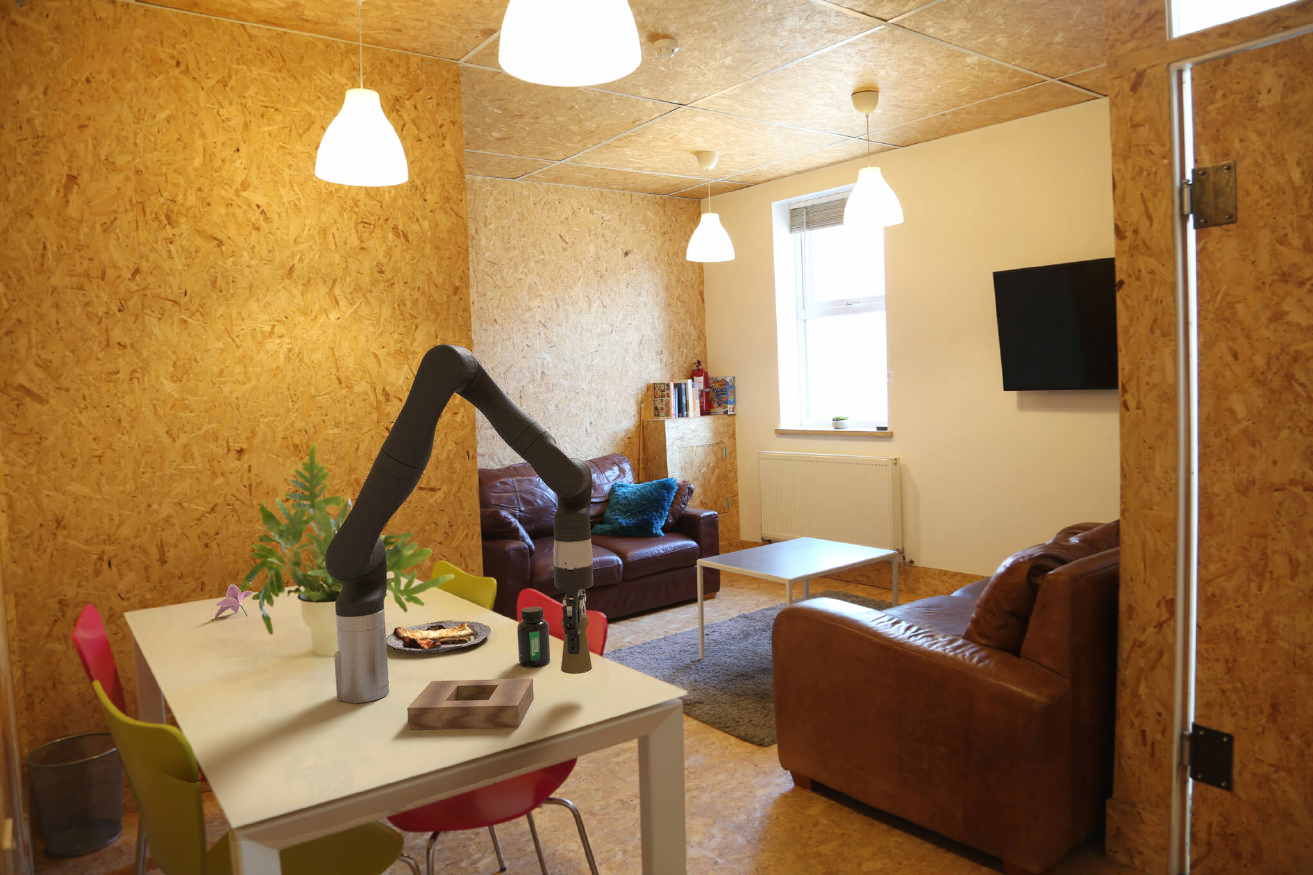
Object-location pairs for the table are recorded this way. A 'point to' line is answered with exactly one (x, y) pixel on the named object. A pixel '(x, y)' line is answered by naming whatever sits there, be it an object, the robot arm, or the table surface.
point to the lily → (232, 600)
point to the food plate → (437, 636)
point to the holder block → (471, 704)
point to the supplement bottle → (533, 638)
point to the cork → (581, 660)
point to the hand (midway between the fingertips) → (575, 648)
